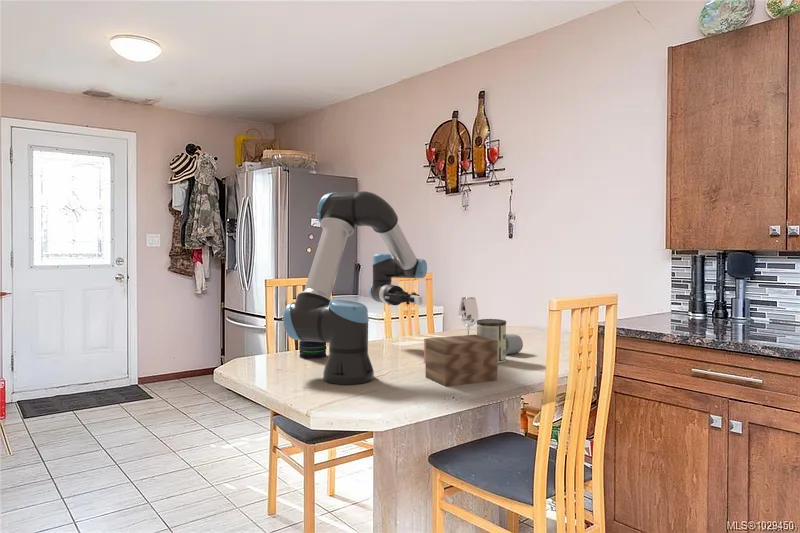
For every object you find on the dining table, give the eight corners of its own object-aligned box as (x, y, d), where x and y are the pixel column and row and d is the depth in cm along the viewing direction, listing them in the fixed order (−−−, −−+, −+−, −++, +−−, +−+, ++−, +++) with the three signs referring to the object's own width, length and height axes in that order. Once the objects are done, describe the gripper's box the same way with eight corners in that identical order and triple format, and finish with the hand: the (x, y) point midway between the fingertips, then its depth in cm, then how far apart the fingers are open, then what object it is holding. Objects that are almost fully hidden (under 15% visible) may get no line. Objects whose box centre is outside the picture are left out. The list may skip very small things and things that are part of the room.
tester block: (445, 386, 158) (445, 344, 158) (425, 377, 169) (425, 338, 169) (497, 380, 166) (497, 340, 166) (475, 371, 177) (475, 334, 177)
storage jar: (318, 359, 195) (318, 317, 195) (293, 357, 199) (293, 316, 198) (331, 354, 204) (331, 314, 204) (307, 353, 208) (307, 313, 207)
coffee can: (475, 357, 201) (476, 318, 200) (504, 358, 200) (505, 319, 199) (476, 363, 191) (477, 322, 190) (507, 363, 190) (507, 322, 189)
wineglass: (479, 350, 214) (479, 298, 213) (459, 350, 214) (459, 298, 214) (476, 346, 222) (477, 297, 221) (457, 346, 222) (457, 296, 221)
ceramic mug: (524, 354, 207) (524, 333, 207) (508, 356, 202) (508, 335, 202) (504, 350, 216) (504, 330, 216) (488, 352, 211) (488, 332, 211)
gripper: (407, 303, 217) (436, 310, 195) (376, 305, 211) (403, 312, 190) (407, 284, 216) (436, 289, 195) (376, 285, 211) (403, 290, 189)
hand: (420, 300), depth 192 cm, fingers closed
